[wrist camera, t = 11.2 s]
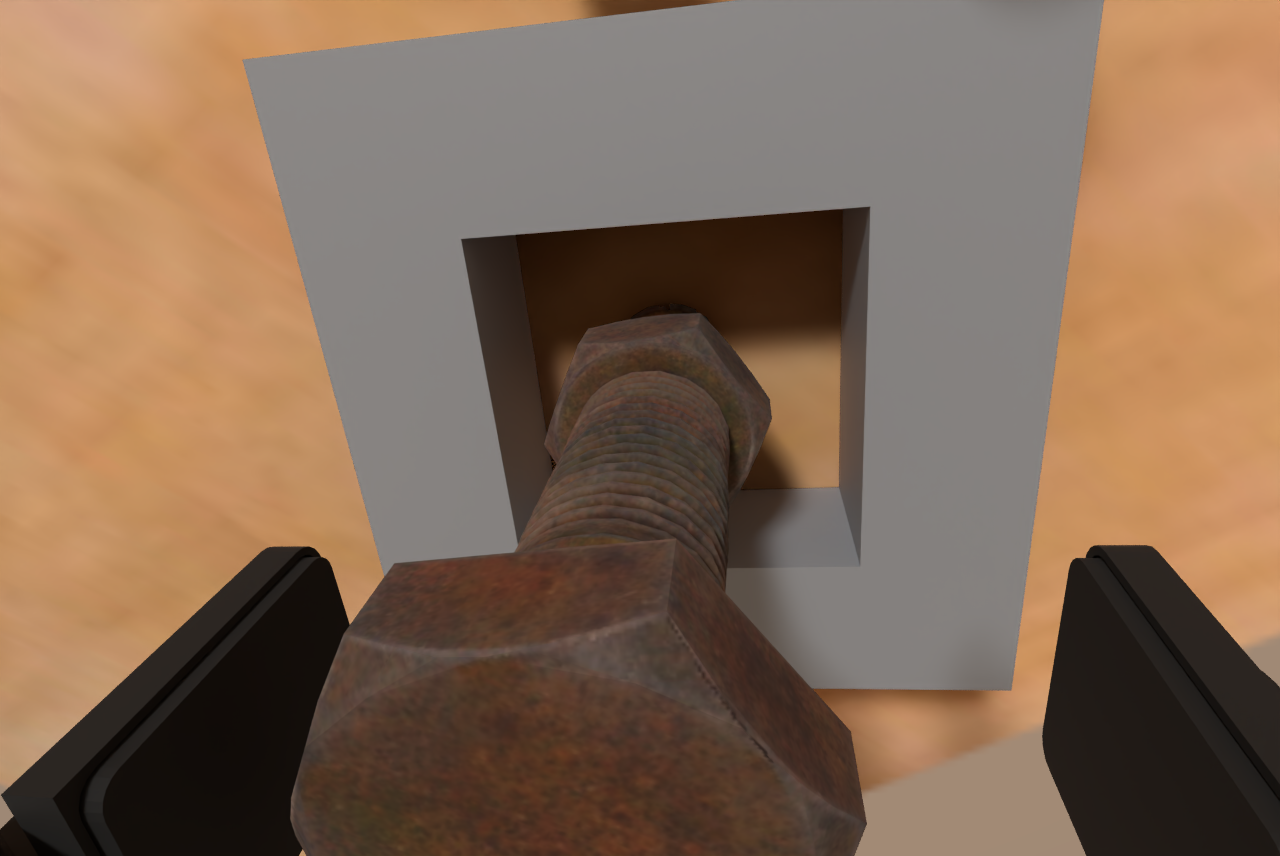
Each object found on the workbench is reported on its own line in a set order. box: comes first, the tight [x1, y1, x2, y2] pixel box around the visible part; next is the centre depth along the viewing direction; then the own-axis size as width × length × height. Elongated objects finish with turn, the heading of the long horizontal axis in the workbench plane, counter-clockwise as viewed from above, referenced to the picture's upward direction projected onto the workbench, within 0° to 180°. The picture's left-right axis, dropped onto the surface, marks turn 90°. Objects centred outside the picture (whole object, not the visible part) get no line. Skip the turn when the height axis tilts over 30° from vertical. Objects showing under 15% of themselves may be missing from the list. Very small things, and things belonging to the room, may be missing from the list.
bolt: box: [290, 303, 867, 856], centre depth 14 cm, size 6×5×15 cm
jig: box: [243, 0, 1104, 690], centre depth 19 cm, size 16×16×4 cm
